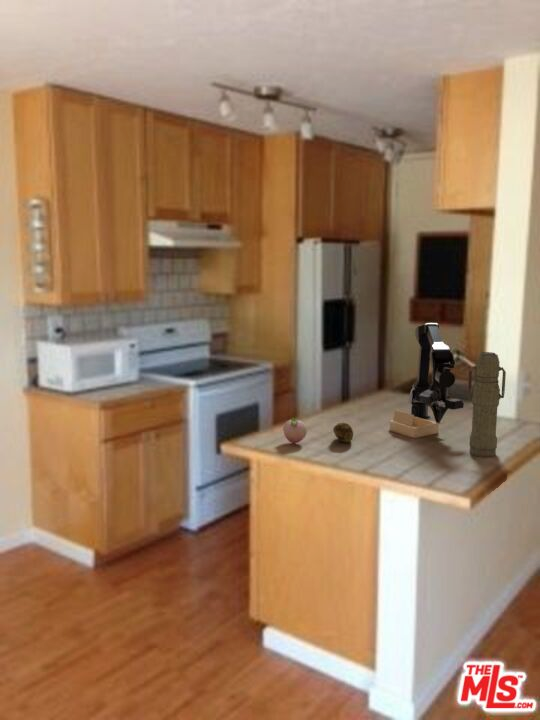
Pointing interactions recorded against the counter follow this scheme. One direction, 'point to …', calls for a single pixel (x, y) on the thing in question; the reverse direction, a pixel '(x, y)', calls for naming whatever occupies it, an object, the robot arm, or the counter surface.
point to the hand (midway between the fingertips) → (437, 422)
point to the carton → (414, 428)
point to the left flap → (430, 424)
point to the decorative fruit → (294, 430)
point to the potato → (343, 432)
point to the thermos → (485, 404)
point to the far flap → (403, 417)
